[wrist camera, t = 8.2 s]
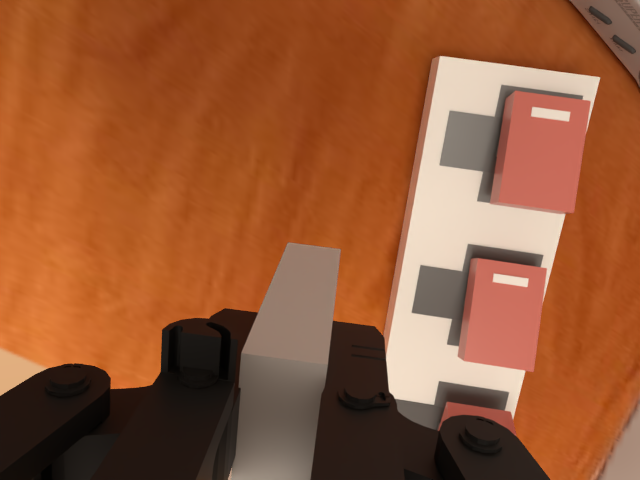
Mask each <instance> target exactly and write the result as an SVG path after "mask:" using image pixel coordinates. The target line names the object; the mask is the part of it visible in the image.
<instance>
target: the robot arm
mask: <svg viewBox="0 0 640 480" xmlns="http://www.w3.org/2000/svg"><path fill="white" fill-rule="evenodd" d="M340 252H341V249H335V248H328V247H320V246H312V245H304V244H296V243H289V242H288V244H287V246H286V248H285V251H284V253H283V255H282V258H281V260H280V263H279V265H278V267H277V270H276V272H275V274H274V277H273V279H272V281H271V284H270V286H269V289H268V291H267V293H266V296H265V298H264V300H263V303H262V305H261V307H260V310H259V312H258V313H256V312H249V311H241V310H234V309H226V308H225V309H223V310H221V311H219V312H218V313H216V314H214V315H212V316H211V317H210V318H209V319H205V318H192V319H184V320H180V321H177V322H174V323H171V324H169V325H168V326H166V327H165V328H164V329H163V330H162V352H161V373H160V374H159V376H158V377H157V379H156V380H155V382H154V383H153V385H150V386H147V387H139V388H126V389H110V384H111V378H110V377H109V375H108V374H107V373H106V371H104V370H102V369H100V368H98V367H95V366H90V365H84V364H64V365H61V366H57V367H52V368H48V369H46V370H44V371H42V372H40V373H37V374H35V375H34V376H32V377H30V378H29V379H27V380H25V381H24V382H22V383H21V384H19V385H17V386H16V387H14V388H12V389H11V390H9V391H7V392H6V393H4V394H3V395H1V396H0V480H228V477H229V474H230V471H231V468H232V475H231V480H550V479H549V477H548V476H547V475H546V473H545V472H544V471H543V470H542V468H541V467H540V466H539V464H538V463H537V462H536V461H535V459H534V458H533V457H532V455H531V454H530V453H529V452H528V450H527V449H526V448H525V446H524V445H523V444H522V443H521V441H520V440H519V439H518V438H517V437H516V436H515V435H514V434H513V433H512V432H511V431H510V430H509V429H507V428H506V427H504V426H502V425H500V424H499V423H497V422H495V421H493V420H491V419H488V418H487V419H486V418H485V417H481V416H473V415H457V416H451V417H450V418H448V419H446V420H445V421H443V422H442V425H441V427H440V430H439V431H437V430H434V429H431V428H428V427H425V426H423V425H420V424H418V423H415V422H413V421H411V420H410V419H408V418H406V417H405V416H403V415H402V414H401V413H400V412H398V409H397V403H396V400H395V398H394V396H393V395H392V394H391V393H390V392H389V385H388V373H387V362H386V351H385V339H384V337H383V335H382V334H381V333H380V332H379V331H378V330H377V329H376V327H375V326H367V325H360V324H352V323H345V322H337V321H333V314H334V305H335V296H336V287H337V278H338V270H339V261H340Z"/></svg>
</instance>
